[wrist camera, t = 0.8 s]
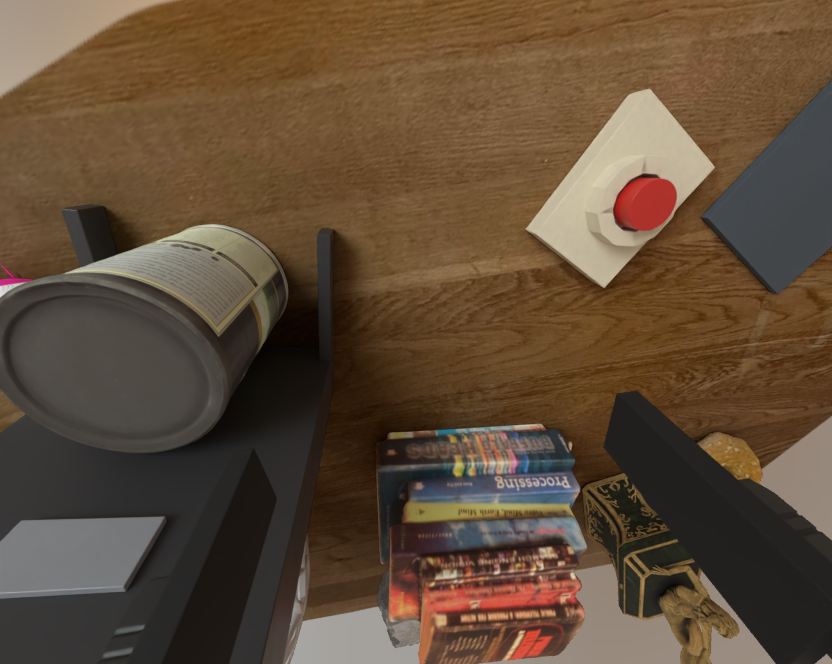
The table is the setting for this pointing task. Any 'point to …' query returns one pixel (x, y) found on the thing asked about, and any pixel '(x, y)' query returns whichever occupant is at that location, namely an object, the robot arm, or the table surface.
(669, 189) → the power button
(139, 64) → the table surface
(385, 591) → the stone
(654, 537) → the decorative box
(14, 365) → the coffee can
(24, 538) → the footed upright panel
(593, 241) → the switch block
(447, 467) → the stack of books
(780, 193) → the mat
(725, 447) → the bagel
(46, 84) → the table surface
